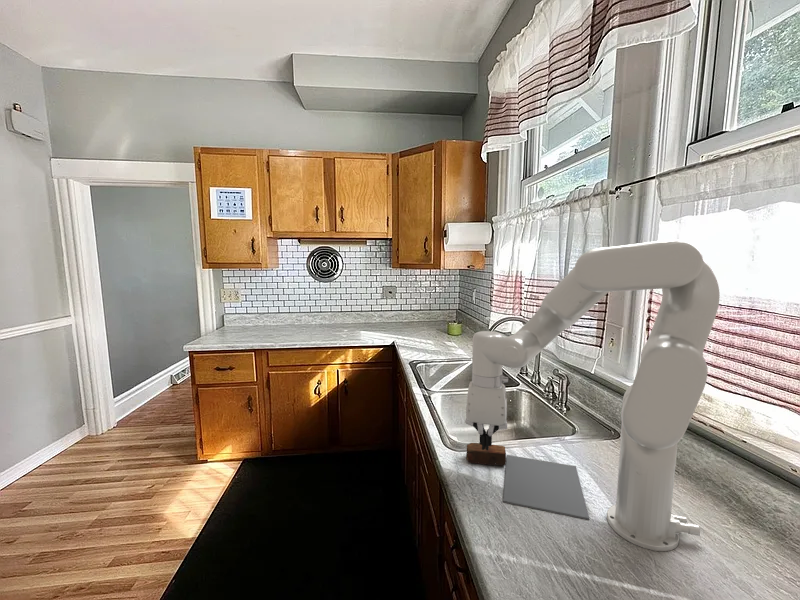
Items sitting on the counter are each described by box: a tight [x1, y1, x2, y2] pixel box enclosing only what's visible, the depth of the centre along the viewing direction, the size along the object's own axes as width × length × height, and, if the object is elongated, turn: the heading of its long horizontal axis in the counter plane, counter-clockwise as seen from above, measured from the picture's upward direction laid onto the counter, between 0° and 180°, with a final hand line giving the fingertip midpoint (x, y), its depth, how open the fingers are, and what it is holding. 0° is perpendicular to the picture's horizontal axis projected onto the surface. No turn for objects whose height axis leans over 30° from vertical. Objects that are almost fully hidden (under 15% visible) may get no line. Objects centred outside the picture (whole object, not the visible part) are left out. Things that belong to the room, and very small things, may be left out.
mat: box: [502, 454, 590, 521], centre depth 91 cm, size 18×21×1 cm
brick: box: [465, 442, 507, 467], centre depth 101 cm, size 11×4×5 cm
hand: (485, 447), depth 94 cm, fingers closed
